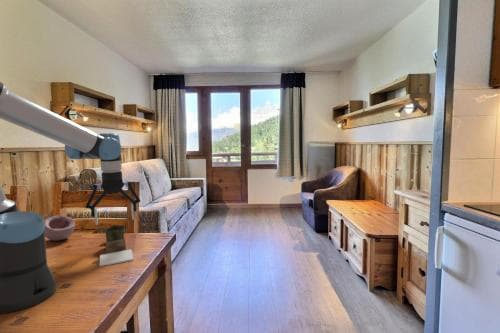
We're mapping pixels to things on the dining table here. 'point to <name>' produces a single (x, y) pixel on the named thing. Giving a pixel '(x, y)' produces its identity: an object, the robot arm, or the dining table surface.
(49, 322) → the dining table surface
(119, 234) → the cup
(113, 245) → the walnut slot holder
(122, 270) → the dining table surface
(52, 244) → the dining table surface
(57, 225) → the pink bowl
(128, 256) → the ceramic tile
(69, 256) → the dining table surface
